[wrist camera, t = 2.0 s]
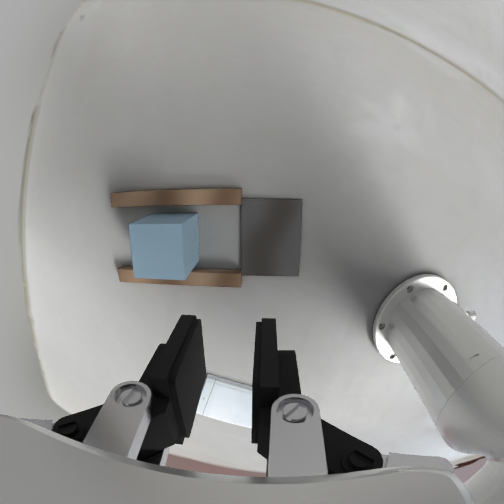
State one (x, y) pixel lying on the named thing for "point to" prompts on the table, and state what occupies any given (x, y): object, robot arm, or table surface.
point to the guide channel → (252, 234)
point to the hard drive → (226, 401)
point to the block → (165, 245)
